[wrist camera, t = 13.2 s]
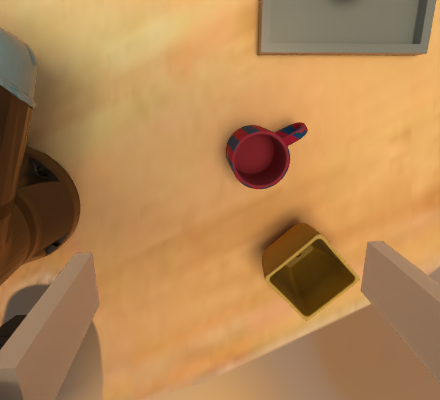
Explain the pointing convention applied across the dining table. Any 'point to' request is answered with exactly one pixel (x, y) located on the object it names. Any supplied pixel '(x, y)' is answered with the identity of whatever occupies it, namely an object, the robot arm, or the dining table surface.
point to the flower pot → (306, 270)
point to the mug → (262, 154)
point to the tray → (345, 27)
